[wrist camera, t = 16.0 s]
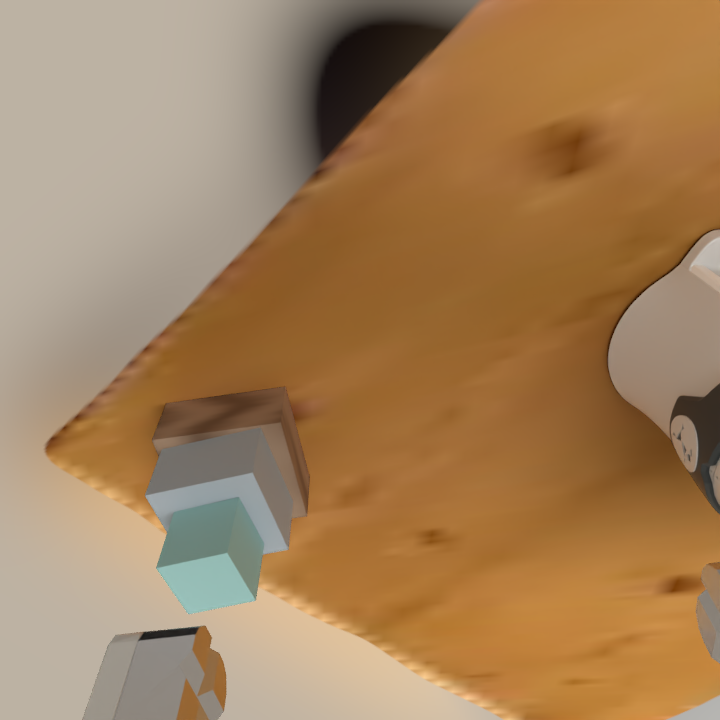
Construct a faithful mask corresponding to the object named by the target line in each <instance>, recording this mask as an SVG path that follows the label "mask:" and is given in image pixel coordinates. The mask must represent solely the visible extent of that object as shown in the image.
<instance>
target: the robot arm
mask: <svg viewBox="0 0 720 720" xmlns="http://www.w3.org/2000/svg"><path fill="white" fill-rule="evenodd" d="M608 368H609V373H610V377H611V380H612V382H613V384H614V386H615V388H616V390H617V391H618V392H619V394H620V395H621V396H622V397H623V398H624V399H625V400H626V401H627V402H628V403H630V404H631V405H633V406H634V407H636V408H637V409H639V410H640V411H641V412H643V413H644V414H645V415H646V416H648V417H649V418H650V419H651V420H652V421H653V422H654V423H655V424H656V425H657V426H658V427H659V428H660V429H661V430H662V431H663V432H664V433H665V434H666V435H667V436H668V437H669V438H670V439H671V442H672V444H673V446H674V448H675V450H676V452H677V454H678V456H679V458H680V459H681V461H682V463H683V464H684V466H685V467H686V469H687V471H688V472H689V474H690V475H691V477H692V478H693V480H694V481H695V483H696V484H697V486H698V487H699V489H700V490H701V491H702V493H703V494H704V496H705V497H706V498H707V500H708V501H709V503H710V504H711V505H712V507H713V508H714V509H715V510H716V511H717V512H718V513H719V514H720V230H714V231H711V232H709V233H707V234H706V235H704V236H703V237H702V238H701V239H700V240H699V241H698V242H697V243H696V244H695V245H694V247H693V248H692V249H691V250H690V252H689V253H688V254H687V255H686V257H685V258H684V259H683V261H682V262H681V264H680V265H679V266H677V267H676V268H675V269H674V270H673V271H671V272H670V273H669V274H667V275H666V276H664V277H663V278H662V279H660V280H659V281H657V282H656V283H654V284H653V285H652V286H650V287H649V288H648V289H647V290H646V291H644V292H643V293H642V294H641V295H640V296H639V297H638V298H637V299H636V300H635V301H634V302H633V303H632V305H631V306H630V307H629V308H628V310H627V311H626V312H625V314H624V315H623V316H622V318H621V320H620V321H619V323H618V325H617V327H616V329H615V331H614V334H613V336H612V339H611V343H610V347H609V353H608ZM701 580H702V582H703V584H704V586H705V587H706V590H705V591H704V592H703V593H702V594H701V595H700V596H698V599H697V607H696V614H697V620H698V625H699V630H700V632H701V635H702V638H703V641H704V643H705V645H706V647H707V649H708V651H709V653H710V655H711V657H712V658H713V659H714V660H716V661H717V662H719V663H720V562H717V563H709V564H707V565H706V566H705V567H704V568H703V571H702V576H701ZM211 639H212V637H211V635H210V633H209V631H208V630H207V628H206V626H197V627H188V628H178V629H168V630H158V631H148V632H137V633H130V634H121V635H115V637H114V638H113V639H112V641H111V642H110V643H109V645H108V647H107V650H106V653H105V656H104V659H103V661H102V664H101V667H100V670H99V673H98V676H97V679H96V681H95V685H94V687H93V690H92V693H91V696H90V699H89V702H88V705H87V707H86V710H85V714H84V716H83V719H82V720H217V719H218V718H219V717H220V716H221V714H222V713H223V711H224V706H225V699H226V672H225V668H224V663H223V660H222V658H221V656H220V654H219V653H218V652H216V651H214V650H212V649H211V648H210V644H211Z"/></svg>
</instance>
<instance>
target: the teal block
mask: <svg viewBox="0 0 720 720" xmlns="http://www.w3.org/2000/svg"><path fill="white" fill-rule="evenodd" d="M263 549H264V542H263V540H262V539H261V537H260V535H259V533H258V531H257V529H256V528H255V526H254V524H253V522H252V520H251V518H250V517H249V515H248V513H247V511H246V509H245V507H244V506H243V504H242V502H241V500H240V498H239V497H237V498H233V499H228V500H224V501H219V502H215V503H211V504H206V505H202V506H197V507H193V508H189V509H185V510H180V511H176V512H174V513H173V517H172V520H171V523H170V526H169V529H168V532H167V535H166V539H165V542H164V545H163V548H162V552H161V555H160V558H159V561H158V564H157V567H156V569H157V570H158V572H159V573H160V574H161V576H162V577H163V579H164V580H165V582H166V583H167V584H168V586H169V587H170V589H171V590H172V592H173V593H174V594H175V596H176V597H177V599H178V600H179V602H180V603H181V604H182V606H183V607H184V609H185V610H186V612H187V613H188V614H192V613H197V612H202V611H207V610H212V609H217V608H222V607H227V606H232V605H237V604H242V603H247V602H252V601H255V600H256V596H257V589H258V583H259V576H260V569H261V563H262V556H263Z"/></svg>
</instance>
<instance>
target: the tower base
mask: <svg viewBox="0 0 720 720" xmlns="http://www.w3.org/2000/svg"><path fill="white" fill-rule="evenodd" d="M256 428H261V429H262V432H263V434H264V436H265V439H266V441H267V443H268V445H269V448H270V450H271V452H272V455H273V457H274V459H275V461H276V464H277V466H278V468H279V471H280V473H281V475H282V477H283V480H284V482H285V484H286V487H287V489H288V491H289V493H290V496H291V498H292V500H293V508H292V518H297V517H305V516H307V510H308V495H309V480H310V476H309V473H308V469H307V465H306V461H305V458H304V454H303V450H302V446H301V443H300V439H299V435H298V431H297V428H296V424H295V420H294V416H293V413H292V409H291V405H290V402H289V398H288V394H287V390H286V387H279V388H272V389H265V390H258V391H251V392H244V393H237V394H229V395H222V396H215V397H208V398H201V399H194V400H187V401H180V402H172V403H166V406H165V408H164V411H163V413H162V416H161V418H160V421H159V423H158V426H157V428H156V431H155V434H154V436H153V439H152V442H153V444H154V446H155V449H156V451H157V453H158V456H160V453H161V450H162V449H166V448H170V447H175V446H179V445H184V444H188V443H193V442H197V441H202V440H206V439H211V438H215V437H220V436H224V435H229V434H233V433H238V432H242V431H247V430H251V429H256Z"/></svg>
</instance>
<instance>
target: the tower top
mask: <svg viewBox="0 0 720 720" xmlns="http://www.w3.org/2000/svg"><path fill="white" fill-rule="evenodd" d="M145 497H146V498H147V500H148V502H149V503H150V505H151V506H152V508H153V510H154V511H155V513H156V515H157V516H158V518H159V520H160V521H161V523H162V525H163V526H164V528H165V530H166V531H167V532H168V529H169V526H170V523H171V520H172V517H173V513H174V512H176V511H180V510H185V509H189V508H193V507H197V506H202V505H206V504H211V503H215V502H219V501H224V500H228V499H233V498H237V497H239V498H240V500H241V502H242V504H243V506H244V507H245V509H246V511H247V513H248V515H249V517H250V518H251V520H252V522H253V524H254V526H255V528H256V529H257V531H258V533H259V535H260V537H261V539H262V540H263V542H264V549H263V554H268V553H273V552H278V551H283V550H288V549H289V540H290V529H291V519H292V508H293V500H292V498H291V496H290V493H289V491H288V489H287V487H286V484H285V482H284V480H283V477H282V475H281V473H280V471H279V468H278V466H277V464H276V461H275V459H274V457H273V455H272V452H271V450H270V448H269V445H268V443H267V441H266V439H265V436H264V434H263V432H262V429H261V428H256V429H251V430H247V431H242V432H238V433H233V434H229V435H224V436H220V437H215V438H211V439H206V440H202V441H197V442H193V443H188V444H184V445H179V446H175V447H170V448H166V449H162V450H161V453H160V456H159V458H158V461H157V464H156V467H155V469H154V472H153V475H152V478H151V480H150V483H149V486H148V489H147V491H146V494H145Z"/></svg>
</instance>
